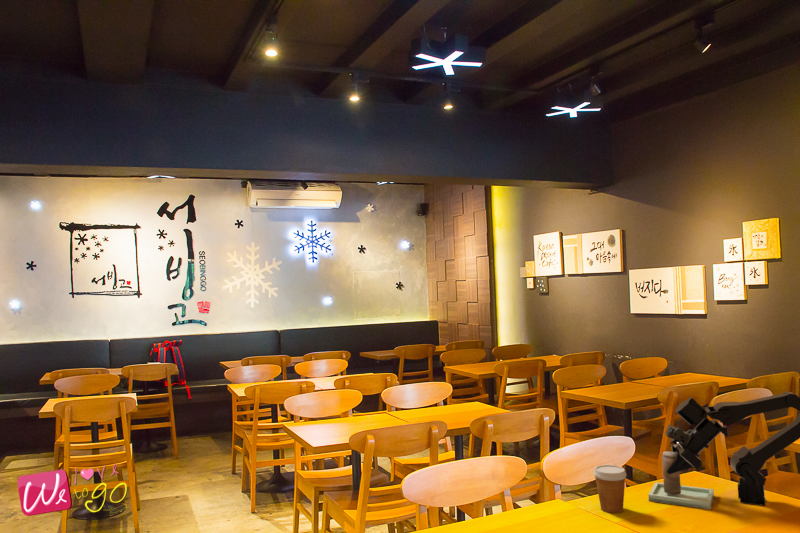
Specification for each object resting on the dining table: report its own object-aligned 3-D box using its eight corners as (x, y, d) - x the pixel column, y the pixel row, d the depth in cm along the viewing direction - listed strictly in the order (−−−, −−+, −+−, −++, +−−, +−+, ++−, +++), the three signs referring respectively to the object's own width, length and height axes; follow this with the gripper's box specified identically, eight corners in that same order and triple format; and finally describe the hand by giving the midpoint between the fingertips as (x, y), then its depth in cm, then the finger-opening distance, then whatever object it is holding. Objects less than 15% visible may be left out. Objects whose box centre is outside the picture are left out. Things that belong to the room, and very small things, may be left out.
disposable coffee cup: (631, 515, 173) (628, 474, 173) (597, 514, 175) (594, 473, 175) (625, 504, 182) (623, 464, 182) (593, 503, 184) (591, 464, 184)
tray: (714, 495, 185) (713, 489, 185) (710, 509, 174) (709, 502, 174) (655, 488, 194) (655, 482, 195) (648, 501, 183) (648, 494, 184)
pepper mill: (683, 491, 185) (681, 452, 186) (676, 495, 182) (673, 456, 183) (668, 488, 189) (666, 450, 189) (661, 492, 186) (658, 453, 186)
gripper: (675, 410, 194) (641, 444, 197) (686, 423, 176) (649, 460, 179) (703, 435, 192) (669, 468, 194) (718, 450, 174) (680, 487, 176)
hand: (666, 470), depth 186 cm, fingers closed on pepper mill, 5 cm apart
